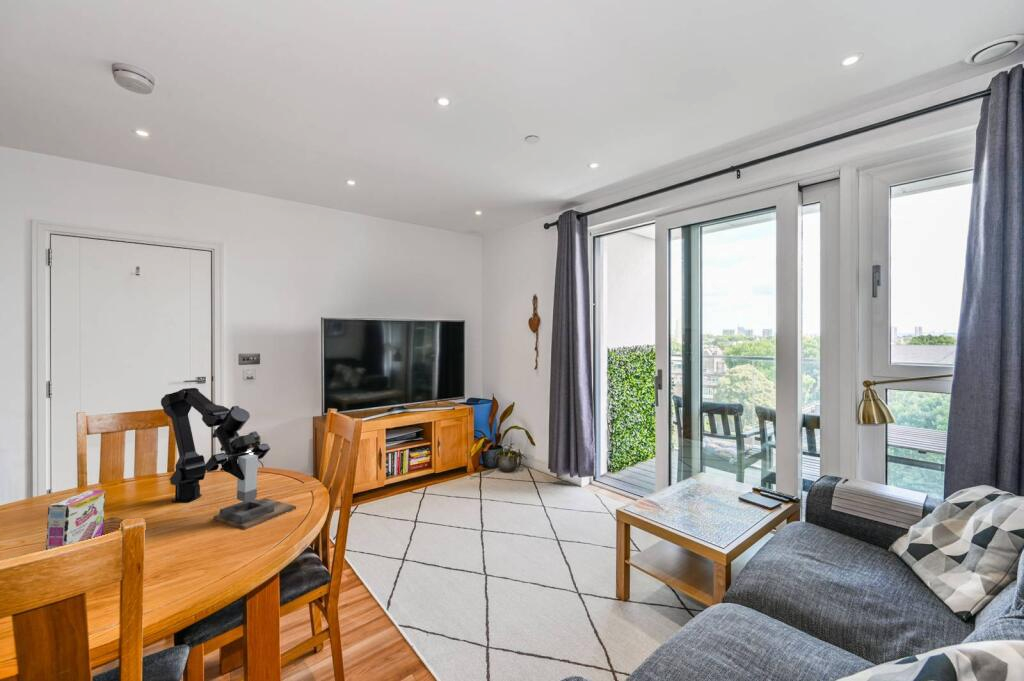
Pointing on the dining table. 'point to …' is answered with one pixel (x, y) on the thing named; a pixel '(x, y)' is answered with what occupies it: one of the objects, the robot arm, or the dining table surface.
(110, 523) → the pastry
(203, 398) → the robot arm
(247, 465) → the white block
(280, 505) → the grey square socket base
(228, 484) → the dining table surface
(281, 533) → the dining table surface
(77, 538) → the candy bar box
